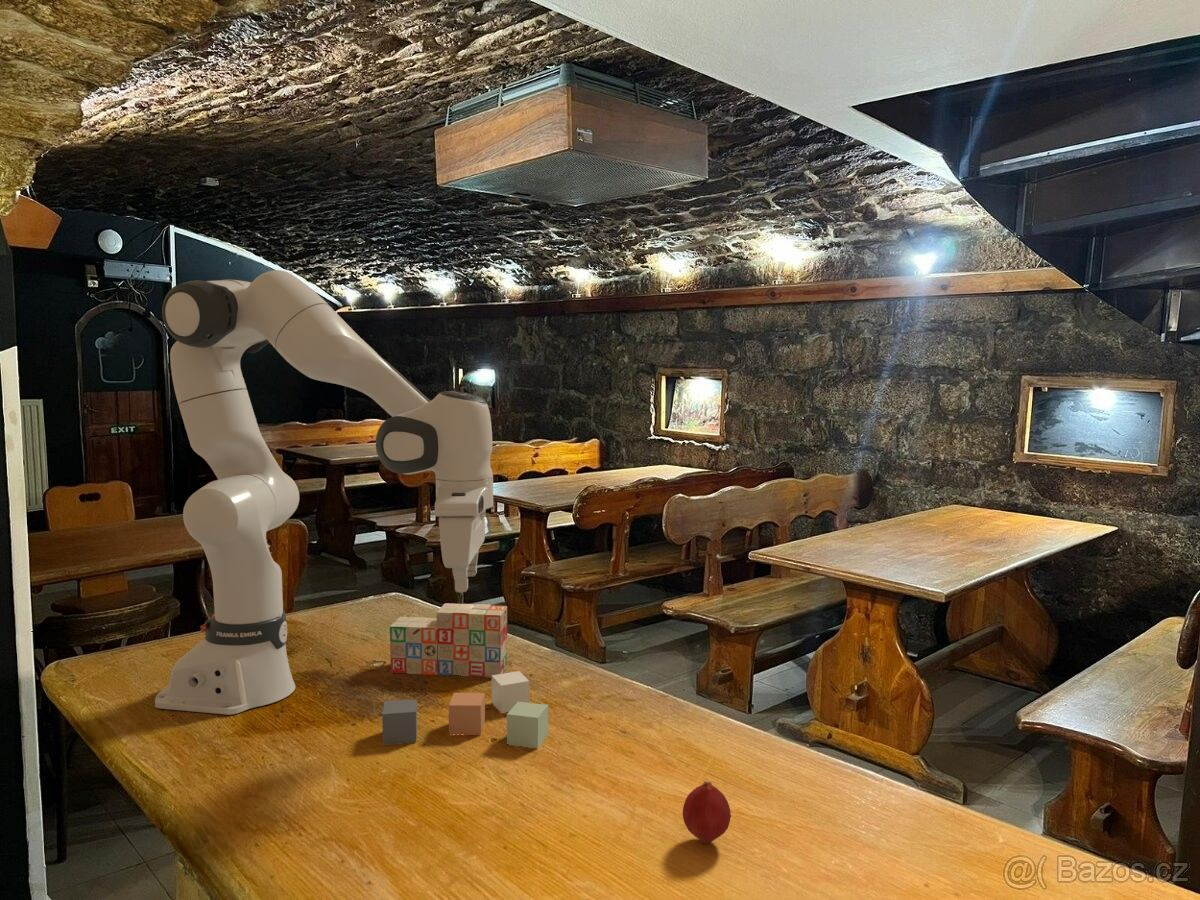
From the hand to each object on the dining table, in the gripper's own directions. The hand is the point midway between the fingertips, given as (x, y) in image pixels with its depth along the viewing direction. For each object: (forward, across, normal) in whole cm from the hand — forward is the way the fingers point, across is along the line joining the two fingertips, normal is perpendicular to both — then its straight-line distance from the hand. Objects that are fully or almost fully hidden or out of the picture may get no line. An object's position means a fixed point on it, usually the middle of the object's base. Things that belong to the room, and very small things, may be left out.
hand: (466, 583), depth 132 cm
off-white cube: (+24, -9, +6) cm, 26 cm away
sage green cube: (+24, +4, +10) cm, 26 cm away
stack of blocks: (+24, -26, -8) cm, 36 cm away
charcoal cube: (+24, +3, -10) cm, 26 cm away
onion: (+24, +32, +34) cm, 52 cm away
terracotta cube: (+24, 0, 0) cm, 24 cm away
